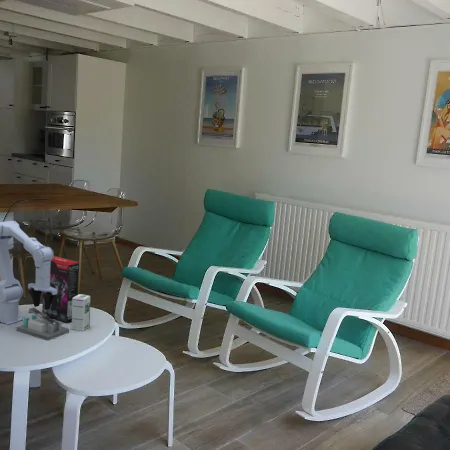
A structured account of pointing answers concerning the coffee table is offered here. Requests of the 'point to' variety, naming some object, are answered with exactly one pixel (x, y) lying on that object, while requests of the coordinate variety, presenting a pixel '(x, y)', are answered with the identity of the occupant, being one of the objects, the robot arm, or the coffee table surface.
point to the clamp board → (44, 334)
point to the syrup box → (81, 312)
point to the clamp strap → (42, 316)
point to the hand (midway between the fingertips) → (42, 307)
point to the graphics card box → (62, 288)
